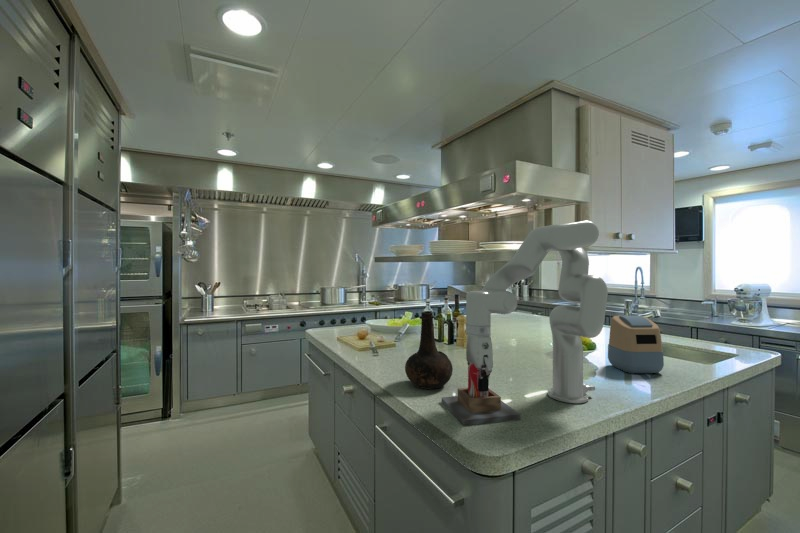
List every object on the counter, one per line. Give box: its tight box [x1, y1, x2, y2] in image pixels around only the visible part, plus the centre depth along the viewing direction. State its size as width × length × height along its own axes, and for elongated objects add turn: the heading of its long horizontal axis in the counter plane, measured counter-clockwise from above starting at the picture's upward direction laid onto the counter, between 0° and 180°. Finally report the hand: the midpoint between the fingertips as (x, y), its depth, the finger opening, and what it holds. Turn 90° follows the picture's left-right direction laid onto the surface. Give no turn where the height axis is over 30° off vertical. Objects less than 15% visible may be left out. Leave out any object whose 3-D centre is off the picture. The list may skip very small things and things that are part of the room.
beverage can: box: [467, 361, 488, 398], centre depth 110 cm, size 6×6×12 cm
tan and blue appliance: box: [607, 315, 665, 374], centre depth 153 cm, size 17×17×23 cm
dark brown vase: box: [404, 311, 454, 390], centre depth 133 cm, size 18×18×28 cm
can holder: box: [441, 387, 521, 426], centre depth 110 cm, size 18×18×6 cm
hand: (478, 386), depth 110 cm, fingers closed on beverage can, 6 cm apart
